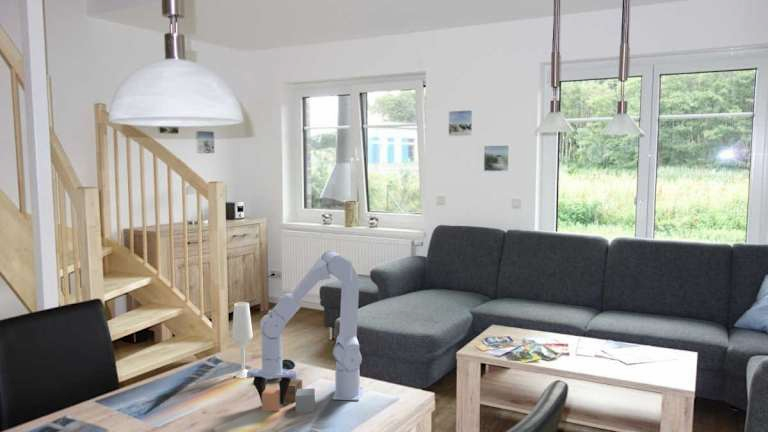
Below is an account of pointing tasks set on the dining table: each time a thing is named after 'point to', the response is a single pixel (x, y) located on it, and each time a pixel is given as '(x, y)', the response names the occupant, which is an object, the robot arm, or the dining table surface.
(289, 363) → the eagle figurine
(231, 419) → the dining table surface
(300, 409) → the slate grey block
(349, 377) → the robot arm
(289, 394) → the walnut block
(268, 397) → the terracotta block
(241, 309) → the champagne flute
